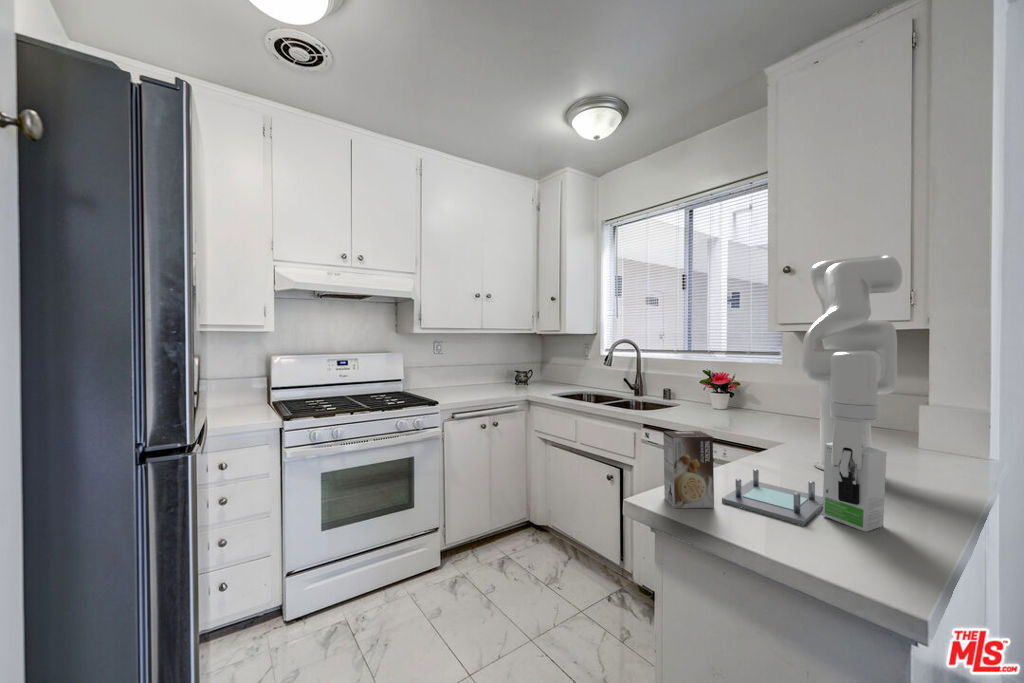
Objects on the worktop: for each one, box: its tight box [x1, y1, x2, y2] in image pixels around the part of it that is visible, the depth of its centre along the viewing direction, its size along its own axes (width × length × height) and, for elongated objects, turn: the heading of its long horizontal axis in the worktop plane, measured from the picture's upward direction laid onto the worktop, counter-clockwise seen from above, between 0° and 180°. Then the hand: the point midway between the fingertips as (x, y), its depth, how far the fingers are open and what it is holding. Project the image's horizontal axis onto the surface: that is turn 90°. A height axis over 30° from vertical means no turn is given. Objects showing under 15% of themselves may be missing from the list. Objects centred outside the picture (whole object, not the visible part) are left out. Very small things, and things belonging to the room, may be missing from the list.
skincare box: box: [821, 443, 887, 533], centre depth 85 cm, size 8×7×16 cm
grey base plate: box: [721, 479, 823, 527], centre depth 95 cm, size 18×16×1 cm
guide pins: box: [735, 468, 816, 514], centre depth 95 cm, size 12×13×4 cm
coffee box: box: [662, 430, 715, 509], centre depth 96 cm, size 9×6×16 cm
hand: (853, 496), depth 85 cm, fingers closed on skincare box, 7 cm apart
